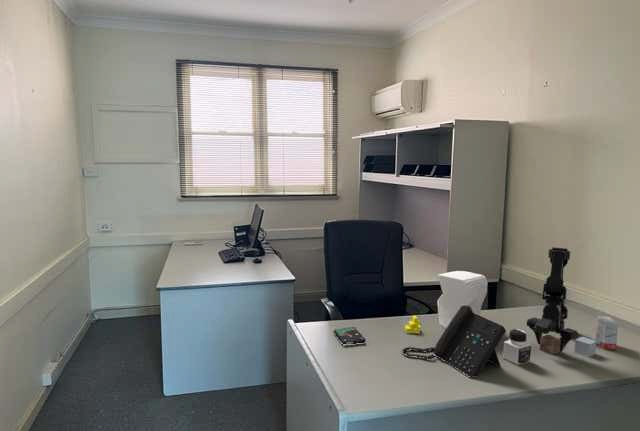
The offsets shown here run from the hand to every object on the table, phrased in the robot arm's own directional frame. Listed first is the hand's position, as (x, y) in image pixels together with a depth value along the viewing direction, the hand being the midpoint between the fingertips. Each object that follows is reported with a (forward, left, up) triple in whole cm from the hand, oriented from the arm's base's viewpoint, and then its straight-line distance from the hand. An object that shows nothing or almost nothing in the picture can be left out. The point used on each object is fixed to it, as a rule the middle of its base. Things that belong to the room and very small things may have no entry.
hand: (549, 348), depth 180 cm
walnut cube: (0, 0, -1) cm, 1 cm away
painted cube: (+9, +10, -1) cm, 14 cm away
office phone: (-16, -43, -2) cm, 46 cm away
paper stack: (-36, -9, -1) cm, 37 cm away
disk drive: (-54, -64, -2) cm, 84 cm away
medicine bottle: (-2, -20, -1) cm, 20 cm away
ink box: (+10, +25, -1) cm, 27 cm away
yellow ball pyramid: (-45, -34, -1) cm, 57 cm away
